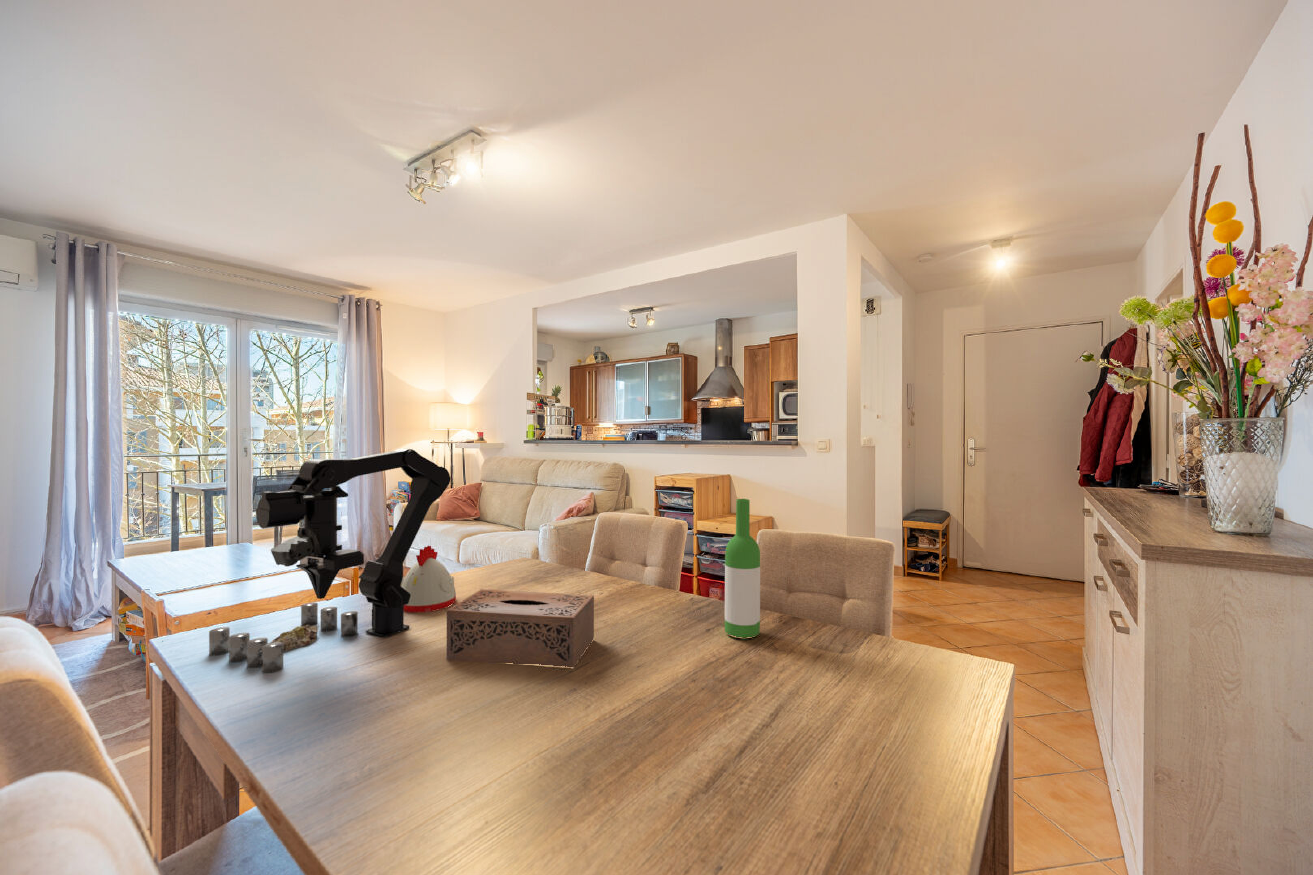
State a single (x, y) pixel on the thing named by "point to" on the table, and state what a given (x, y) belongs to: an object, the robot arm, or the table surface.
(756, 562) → the wine bottle
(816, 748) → the table surface
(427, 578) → the kitchen timer
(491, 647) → the tissue box cover
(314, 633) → the mineral rock
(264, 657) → the spacer posts
